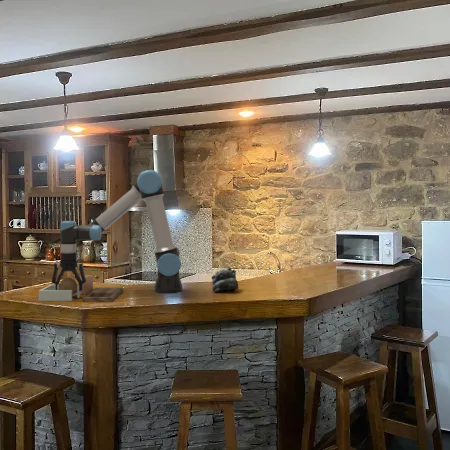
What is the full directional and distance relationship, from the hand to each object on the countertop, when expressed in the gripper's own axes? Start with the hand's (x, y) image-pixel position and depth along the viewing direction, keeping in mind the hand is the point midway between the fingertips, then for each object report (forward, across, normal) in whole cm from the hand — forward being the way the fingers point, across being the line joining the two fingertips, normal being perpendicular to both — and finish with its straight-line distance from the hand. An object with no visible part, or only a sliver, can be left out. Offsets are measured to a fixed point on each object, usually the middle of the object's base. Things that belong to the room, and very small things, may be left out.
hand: (69, 297), depth 238 cm
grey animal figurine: (0, -78, -17) cm, 79 cm away
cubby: (0, +4, 0) cm, 4 cm away
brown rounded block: (0, -6, -12) cm, 13 cm away
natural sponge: (0, 0, 0) cm, 0 cm away
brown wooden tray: (0, -16, -3) cm, 17 cm away
